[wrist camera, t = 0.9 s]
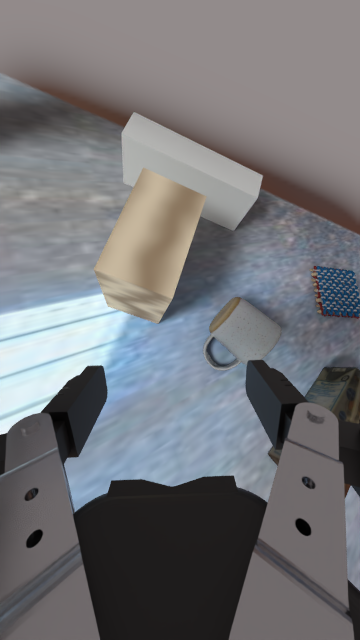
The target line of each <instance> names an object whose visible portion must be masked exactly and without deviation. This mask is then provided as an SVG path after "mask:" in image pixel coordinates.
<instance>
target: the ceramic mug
mask: <svg viewBox="0 0 360 640" xmlns="http://www.w3.org/2000/svg"><path fill="white" fill-rule="evenodd" d="M209 330H210V332H211V335H210V336H209V337H208V338H207V340H206V342H205V344H204V347H203V353H204V357H205V359H206V361H207V362H208V364H209V365H210V366H211V367H213V368H214V369H216V370H221V371H223V370H229V369H231V368H233V367H235V366H237V365H238V364H240V363H241V362H242V363H243V364H245V365H247V362H248V360H261V359H262V358H264V357H265V356H266V355H267V354H268V353H269V352H270V351H271V350H272V349H273V347H274V346H275V345H276V343H277V342H278V340H279V338H280V335H281V331H282V330H281V327H280V326H279V325H278V324H276V323H275V322H274V321H272V320H271V319H270V318H269V317H267V316H266V315H265V314H263V313H262V312H261V311H259V310H258V309H257V308H255V307H254V306H253V305H251V304H250V303H249V302H247V301H246V300H244V299H242V298H240V297H235V298H233V299H231V300H230V301H229V302H228V303H227V304H226V305H225V306H224V307H223V308H222V310H221V311H220V312H219V313H218V314H217V316H216V317H215V318H214V319H213V321H212V322H211V324H210V326H209ZM213 337H215V338H216V339H217V340H218V341H219V342H220V343H221V344H222V345H223V346H225V347H226V348H227V349H228V350H229V351H230V352H231V353H232V354H233V355H234V356H235V357H236V358H237V359H236V360H235V361H234V362H233V363H231V364H229V365H226V366H219V365H217V364H216V363H215V362H214V361H213V360H212V359H211V358H210V355H209V354H208V353H207V351H206V350H207V345H208V344H209V342H210V340H211V339H212V338H213Z"/></svg>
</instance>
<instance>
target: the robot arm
mask: <svg viewBox="0 0 360 640" xmlns="http://www.w3.org/2000/svg"><path fill="white" fill-rule="evenodd" d="M246 393H247V396H248V398H249V400H250V402H251V404H252V406H253V408H254V410H255V412H256V414H257V415H258V417H259V419H260V421H261V423H262V425H263V427H264V429H265V431H266V433H267V435H268V437H269V439H270V441H271V443H272V445H273V446H274V448H275V450H282V453H281V456H280V460H279V464H278V467H277V471H276V475H275V478H274V482H273V486H272V489H271V493H270V497H269V500H268V503H267V502H266V501H265V500H263V499H262V498H260V497H259V496H257V495H255V494H253V493H251V492H249V491H247V490H244V489H241V488H238V487H237V486H236V482H235V479H234V476H212V477H202V478H199V479H196V480H193V481H190V482H187V483H184V484H181V485H178V486H174V487H170V486H166V485H162V484H158V483H154V482H150V481H146V480H142V479H140V480H115V481H111V484H110V487H109V491H108V493H106V494H103V495H101V496H99V497H97V498H95V499H93V500H91V501H90V502H88V503H87V504H85V505H84V506H82V507H81V508H80V509H79V510H77V511H76V512H75V508H74V504H73V500H72V496H71V492H70V488H69V483H68V479H67V475H66V471H65V467H64V463H65V461H66V459H67V458H69V457H79V455H80V453H81V451H82V449H83V447H84V445H85V443H86V441H87V438H88V436H89V434H90V432H91V430H92V428H93V426H94V424H95V422H96V420H97V418H98V416H99V414H100V412H101V410H102V408H103V406H104V404H105V402H106V399H107V385H106V379H105V373H104V368H103V366H87V367H86V368H85V369H84V371H83V372H82V373H81V374H80V375H78V376H76V377H74V378H73V379H71V380H69V381H68V382H67V383H66V384H65V386H64V387H63V388H62V389H61V390H60V391H59V392H58V394H57V395H56V396H55V397H54V398H53V399H52V400H51V401H50V402H49V404H48V405H47V406H46V407H45V408H44V409H43V410H42V411H41V413H37V414H33V415H30V416H28V417H25V418H24V419H22V420H20V421H18V422H17V423H16V424H14V425H13V426H12V427H11V428H10V430H9V431H8V433H6V434H2V435H0V640H360V591H359V590H358V589H357V588H356V587H355V586H354V585H353V584H352V583H351V582H350V581H349V580H348V579H347V551H346V522H345V494H344V483H345V484H349V485H352V487H353V488H354V489H355V491H356V492H357V494H358V495H359V496H360V424H358V423H352V422H347V421H342V420H338V419H337V418H336V416H335V415H334V414H333V413H332V412H331V411H329V410H328V409H326V408H324V407H322V406H320V405H317V404H314V403H309V402H308V401H307V400H306V399H305V398H304V396H303V395H302V394H301V393H300V392H299V391H298V390H297V389H296V388H295V387H294V386H293V384H292V383H291V382H290V381H288V379H287V378H286V377H285V376H284V375H283V374H282V373H281V372H279V371H277V370H276V369H274V368H270V367H269V366H268V365H267V364H266V363H265V362H264V360H248V362H247V371H246Z"/></svg>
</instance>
